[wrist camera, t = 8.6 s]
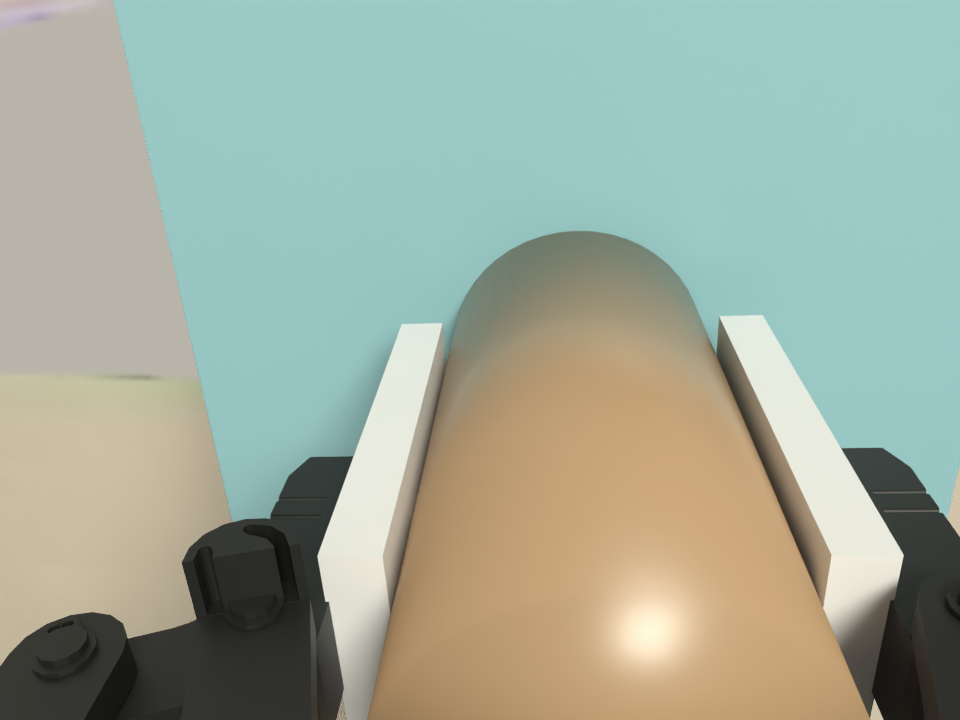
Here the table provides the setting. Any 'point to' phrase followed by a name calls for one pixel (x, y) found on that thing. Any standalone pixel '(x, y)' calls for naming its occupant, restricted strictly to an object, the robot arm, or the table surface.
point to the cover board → (549, 138)
